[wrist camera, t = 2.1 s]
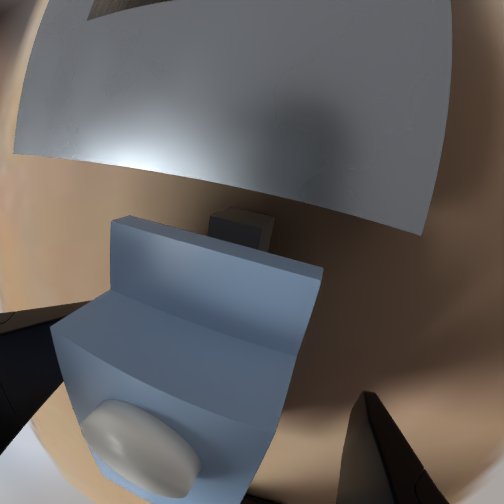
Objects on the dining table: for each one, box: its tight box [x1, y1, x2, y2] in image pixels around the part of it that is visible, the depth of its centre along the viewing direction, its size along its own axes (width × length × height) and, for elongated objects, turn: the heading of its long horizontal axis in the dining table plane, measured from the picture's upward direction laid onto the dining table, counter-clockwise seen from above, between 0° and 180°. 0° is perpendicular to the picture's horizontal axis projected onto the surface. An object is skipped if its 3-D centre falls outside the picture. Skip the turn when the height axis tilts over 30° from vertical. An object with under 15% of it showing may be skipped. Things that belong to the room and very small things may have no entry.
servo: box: [50, 207, 323, 504], centre depth 7 cm, size 9×4×6 cm, turn 170°
